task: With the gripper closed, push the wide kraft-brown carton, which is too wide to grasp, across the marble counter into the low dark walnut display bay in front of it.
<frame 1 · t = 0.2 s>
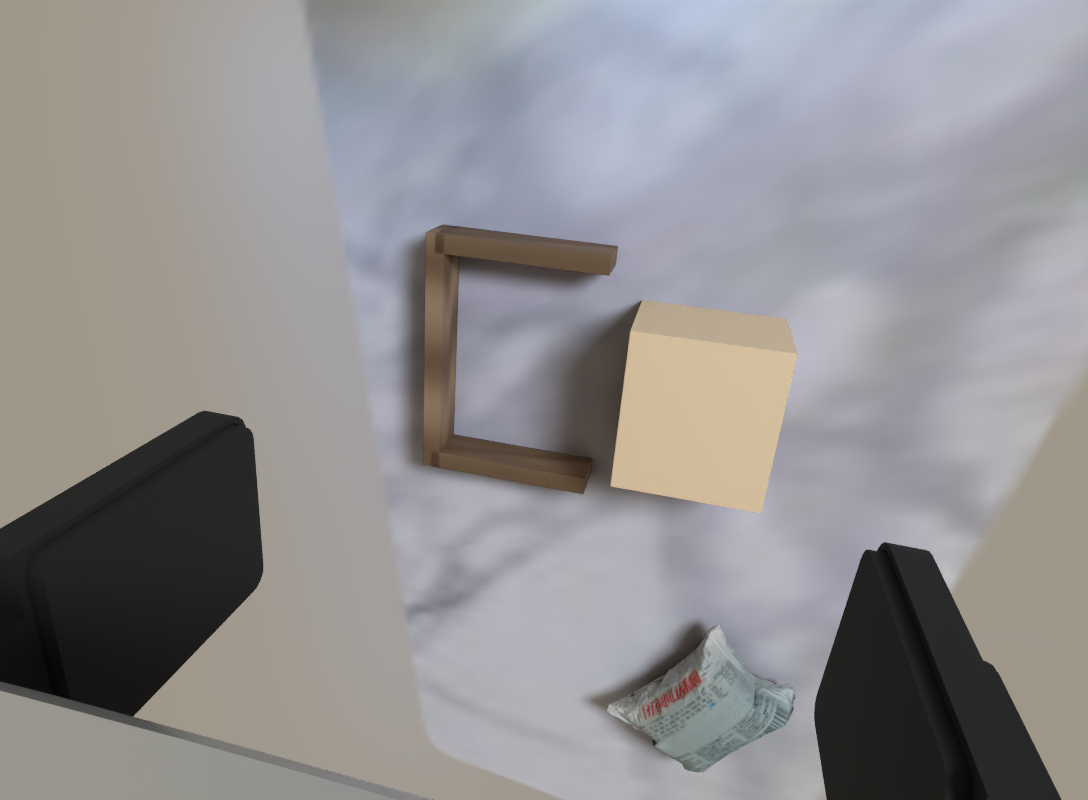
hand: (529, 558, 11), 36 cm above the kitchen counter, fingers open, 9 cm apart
packaged food: (699, 678, 57), on the kitchen counter
carton: (700, 381, 47), on the kitchen counter
display bay: (524, 355, 49), on the kitchen counter
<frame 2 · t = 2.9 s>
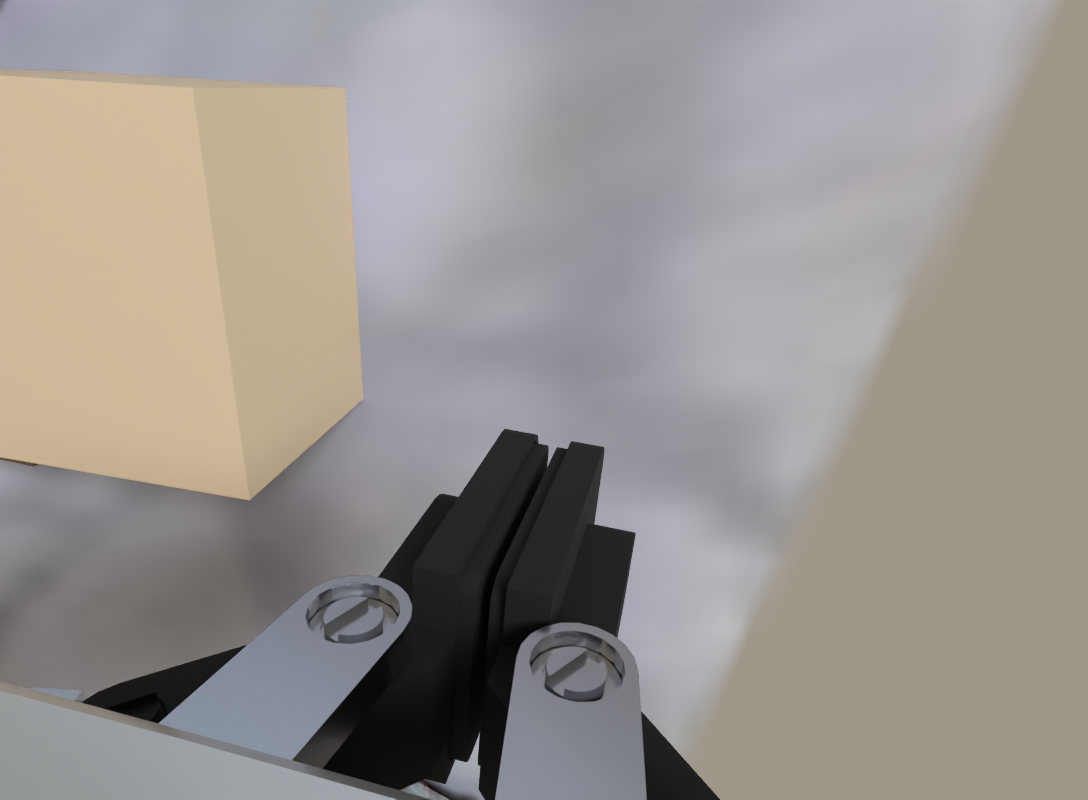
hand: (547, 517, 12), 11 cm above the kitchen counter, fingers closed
packaged food: (363, 782, 34), on the kitchen counter
carton: (231, 243, 24), on the kitchen counter
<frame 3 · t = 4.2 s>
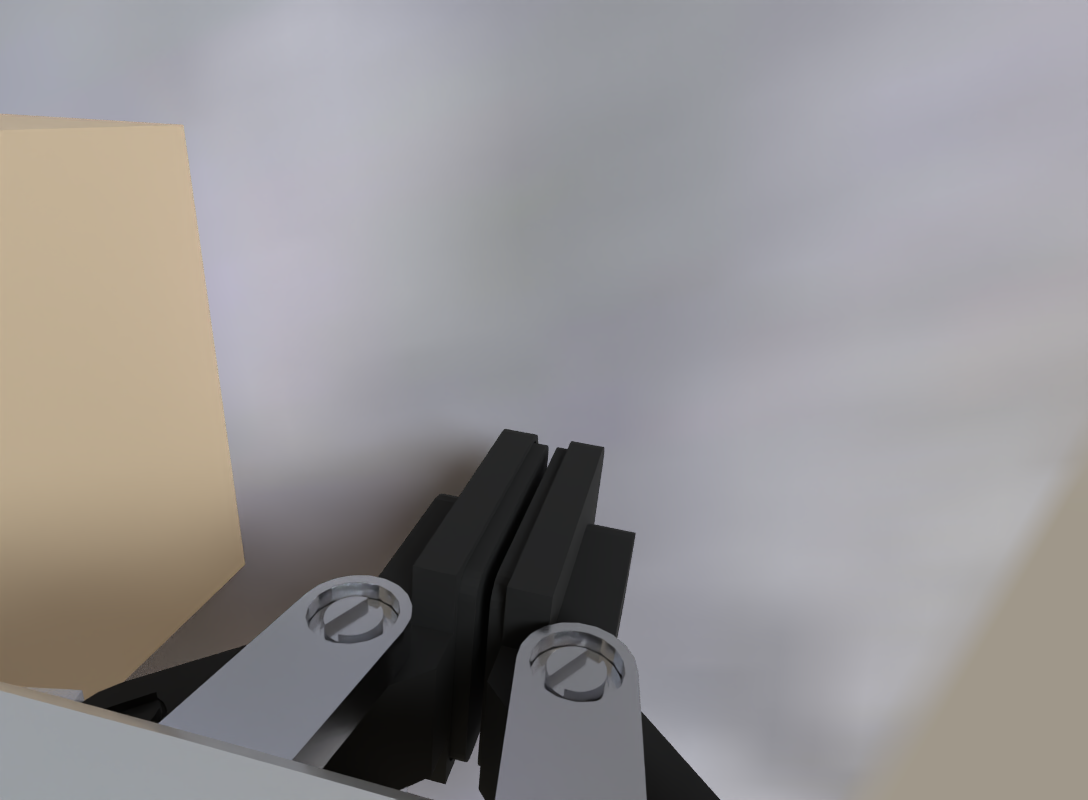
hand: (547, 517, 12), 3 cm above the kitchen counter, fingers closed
carton: (48, 347, 16), on the kitchen counter
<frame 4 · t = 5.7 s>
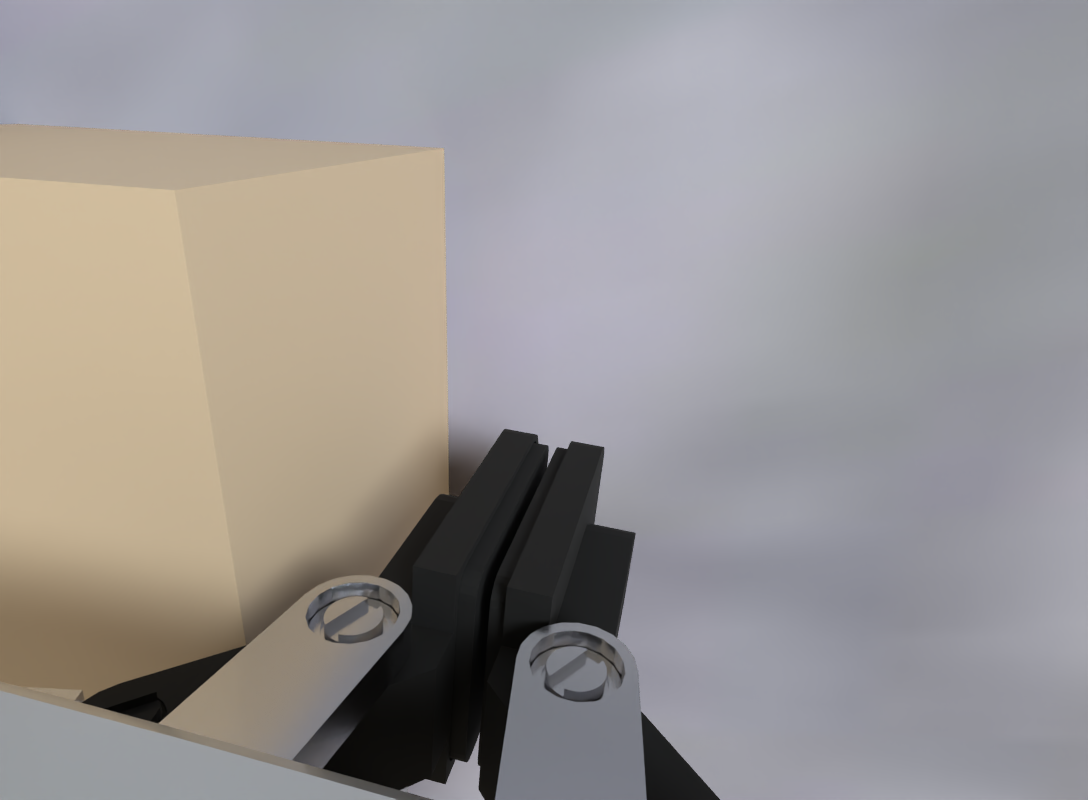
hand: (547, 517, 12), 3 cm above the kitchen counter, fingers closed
carton: (251, 381, 15), on the kitchen counter, touching gripper
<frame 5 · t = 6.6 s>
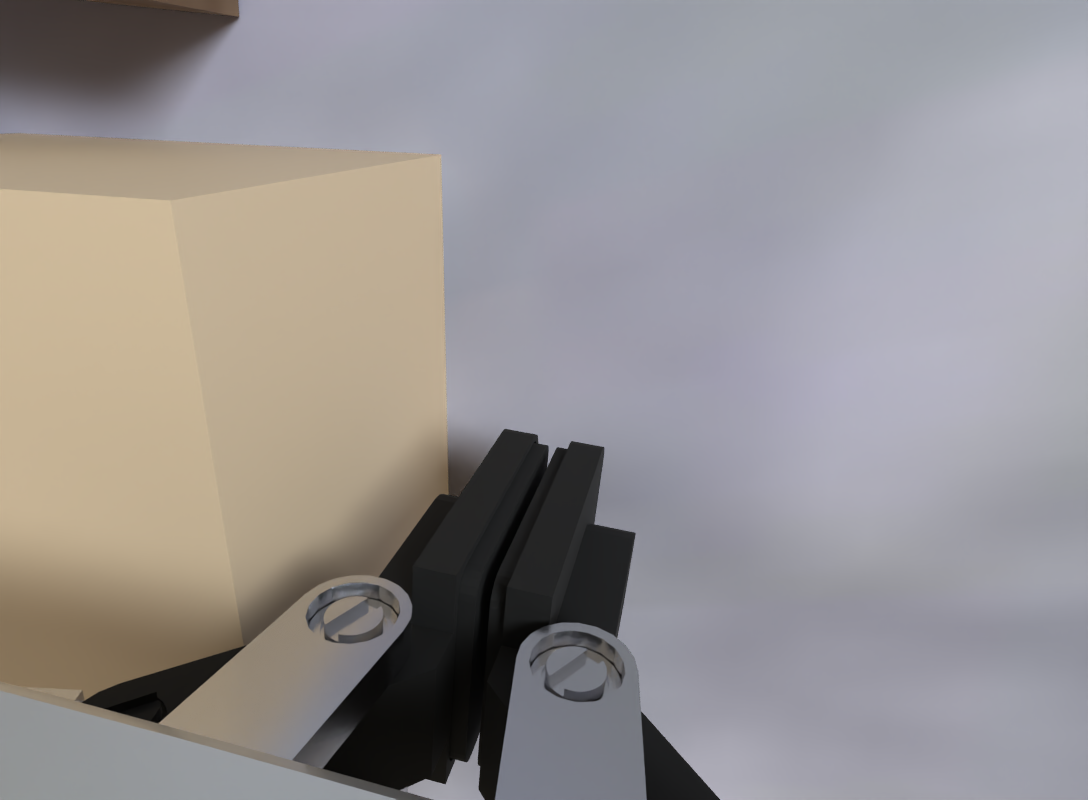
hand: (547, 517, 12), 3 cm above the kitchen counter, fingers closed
carton: (250, 387, 16), on the kitchen counter, touching gripper
display bay: (41, 341, 16), on the kitchen counter
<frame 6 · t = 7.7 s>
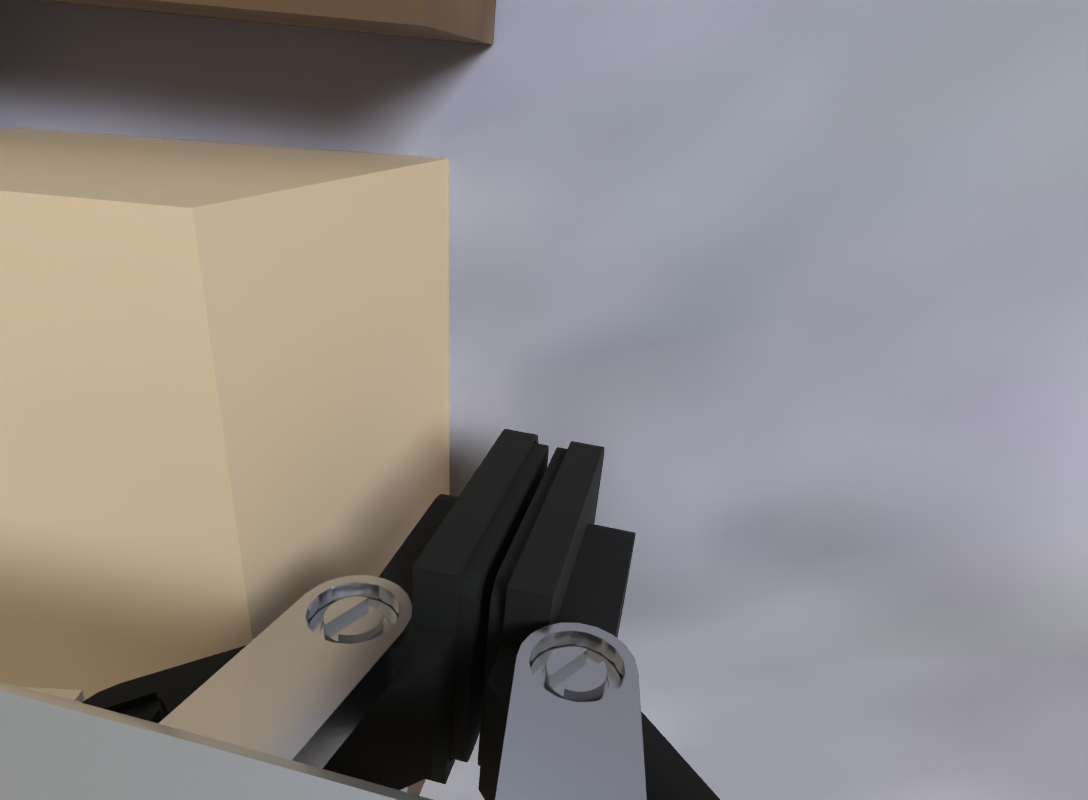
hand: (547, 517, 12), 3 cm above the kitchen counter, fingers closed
carton: (255, 384, 16), on the kitchen counter, touching gripper
display bay: (227, 379, 15), on the kitchen counter
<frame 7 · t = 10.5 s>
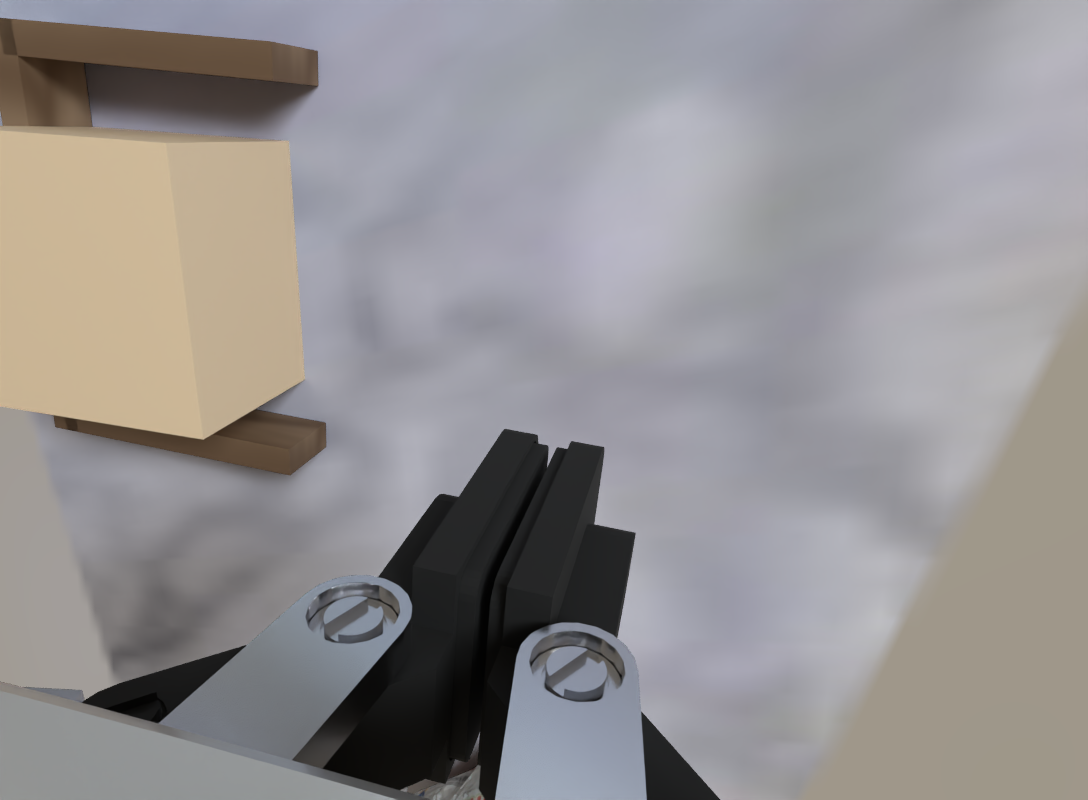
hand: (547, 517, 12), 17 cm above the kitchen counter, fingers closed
packaged food: (528, 778, 38), on the kitchen counter
carton: (205, 256, 31), on the kitchen counter
display bay: (205, 251, 31), on the kitchen counter
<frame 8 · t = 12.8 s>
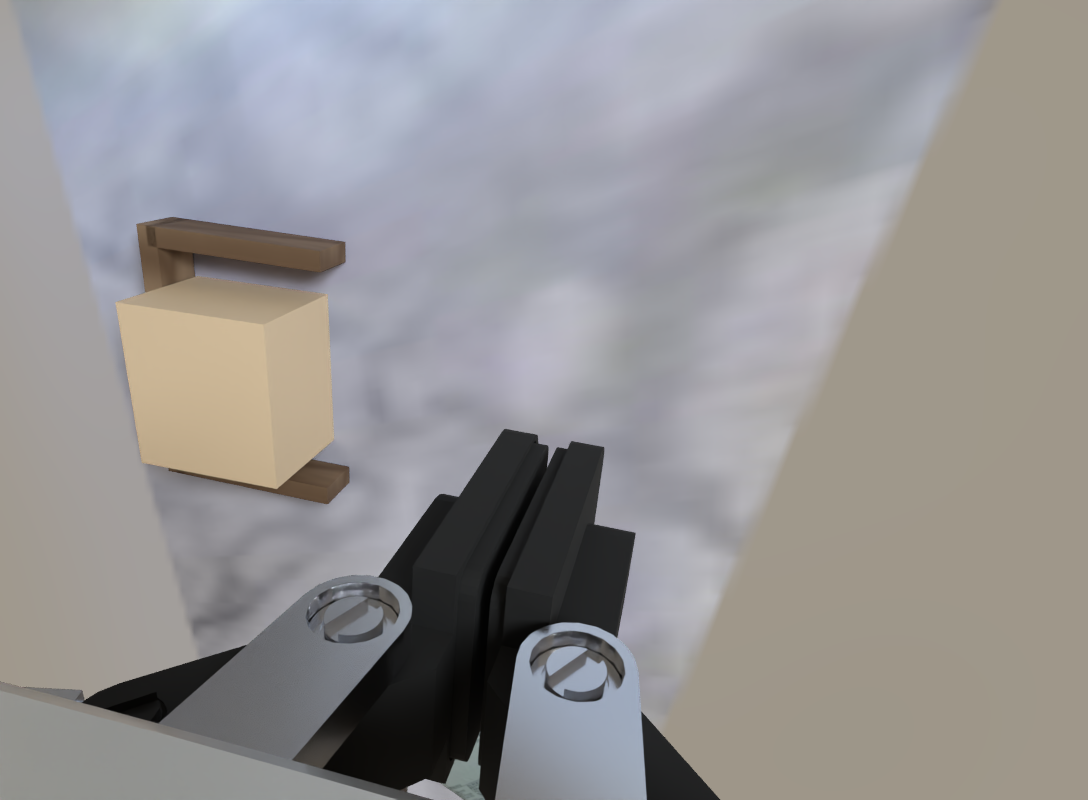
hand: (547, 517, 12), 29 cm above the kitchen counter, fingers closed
packaged food: (490, 707, 54), on the kitchen counter
carton: (268, 359, 47), on the kitchen counter
display bay: (269, 356, 46), on the kitchen counter
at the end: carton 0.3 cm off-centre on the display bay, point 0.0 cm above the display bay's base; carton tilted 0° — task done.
